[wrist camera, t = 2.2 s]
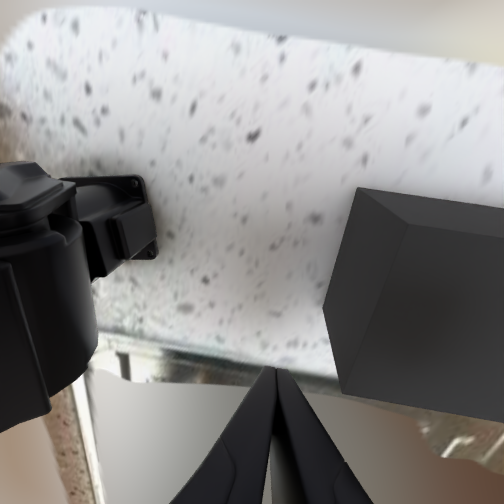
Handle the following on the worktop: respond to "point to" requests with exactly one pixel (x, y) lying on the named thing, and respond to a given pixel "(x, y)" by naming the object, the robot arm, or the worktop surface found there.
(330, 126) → the worktop surface
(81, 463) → the worktop surface
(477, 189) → the worktop surface
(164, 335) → the worktop surface
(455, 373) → the black box
